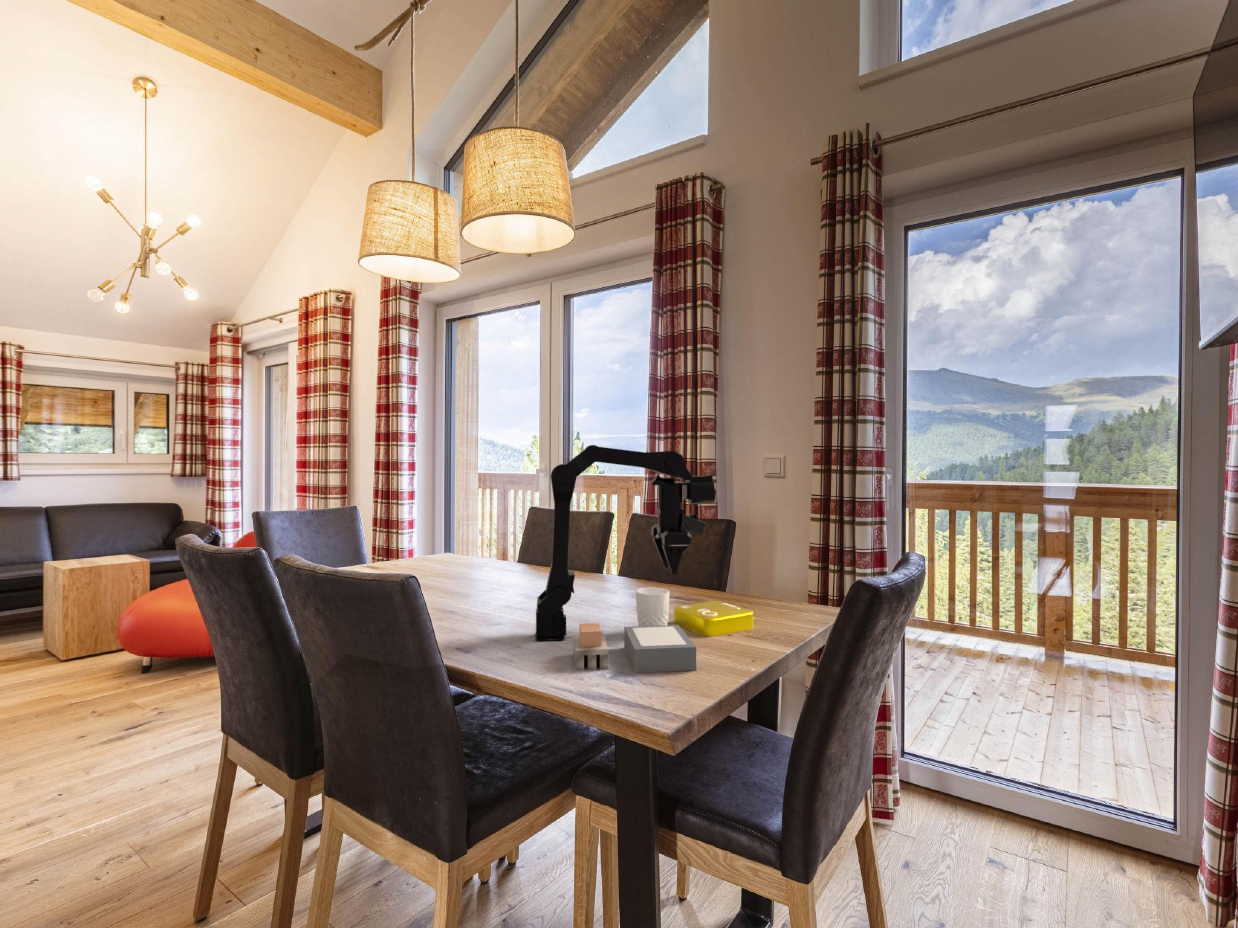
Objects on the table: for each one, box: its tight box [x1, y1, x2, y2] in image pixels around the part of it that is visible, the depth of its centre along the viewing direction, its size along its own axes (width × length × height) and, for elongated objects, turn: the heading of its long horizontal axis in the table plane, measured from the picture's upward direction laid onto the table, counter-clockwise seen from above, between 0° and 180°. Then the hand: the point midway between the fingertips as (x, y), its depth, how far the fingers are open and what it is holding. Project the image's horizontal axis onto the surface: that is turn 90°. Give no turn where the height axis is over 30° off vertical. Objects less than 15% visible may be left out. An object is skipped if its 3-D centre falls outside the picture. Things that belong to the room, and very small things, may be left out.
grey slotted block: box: [572, 634, 609, 671], centre depth 126 cm, size 6×10×4 cm, turn 7°
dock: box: [623, 624, 697, 674], centre depth 128 cm, size 12×16×5 cm
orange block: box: [579, 622, 602, 647], centre depth 126 cm, size 4×6×3 cm, turn 7°
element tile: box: [673, 600, 755, 637], centre depth 153 cm, size 15×15×5 cm
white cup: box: [635, 587, 670, 626], centre depth 146 cm, size 8×8×10 cm
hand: (670, 570), depth 146 cm, fingers open, 9 cm apart
